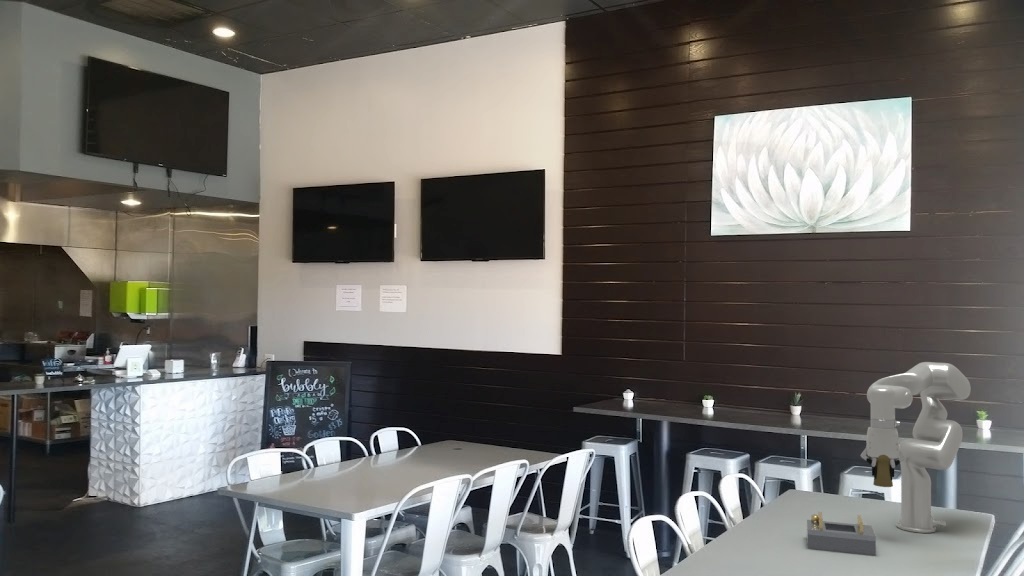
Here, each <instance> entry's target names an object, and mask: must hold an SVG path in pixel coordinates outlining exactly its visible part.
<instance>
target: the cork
mask: <svg viewBox="0 0 1024 576" xmlns="http://www.w3.org/2000/svg"><path fill="white" fill-rule="evenodd" d="M890 460H891V459H890V458H889V457H888V456H886V455H880V456H879V457H877V458H876V467H877V476H876V479H875V477H874V476H873V484H872V485H873V486H876V487H881V488H892V487H893V486H894V484H893V479H892V480H891V477H890Z"/></svg>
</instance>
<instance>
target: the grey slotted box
mask: <svg viewBox="0 0 1024 576" xmlns="http://www.w3.org/2000/svg"><path fill="white" fill-rule="evenodd" d="M817 513H818V514H811V516H810V519H806V542H807V549H808V550H819V551H827V552H836V553H837V552H838V553H847V554H857V555H865V556H875V557H876V555H877V553H876V549H877V545H876V544H877V541H876V540H877V539H876V538H877V536H876V533H875V531H874V528H873V526H872V525H868V524H867V525H866V524H864V521H863V519H862V516H861V515H860V514H857V516H856V524H855V523H847V522H846V523H845V522H834V521H826V520H825V521H824V520H823V519H824V518H823V514H822V511H817Z"/></svg>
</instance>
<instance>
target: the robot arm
mask: <svg viewBox="0 0 1024 576" xmlns="http://www.w3.org/2000/svg"><path fill="white" fill-rule="evenodd" d="M971 391H972V389H971V383H970V381H969V379H968V378H967V377H966V376H965V375H964V374H963V372H962V371H961V370H960V369H958V368H957V367H956V366H955V365H953V364H952V363H947V362H933V361H924V362H923V361H922V362H919V363H918V364H916V365H914V366H913V367H912V368H910V369H908V370H907V371H905V372H903V373H898V374H895V375H890V376H886V377H883V378H879V379H877V380H876V381H874V382H873V383H872V384H871V385H870V386H869V387H868V389H867V392H866V399H867V401H868V402H869V403H870V426H868V428H867V431H866V440H865V441H866V442H865V444H866V445H865V448H864V450H863V451H862V452H861V454H860V457H861V459H863V460H864V461H867V463H868V464H869V465H870V466H871V476H872V477H873V478H874V477H875V479H876V476H877V467H876V458H877V457H879V456H880V455H886V456H888V457H889V458H890V459H891V460H890V477H891V480H892V481H893V478H895V469H896V467H897V466H898V465H899V464H900V477H901V479H900V480H901V481H900V483H901V484H900V485H901V486H900V487H901V489H900V490H901V491H900V492H901V493H900V494H901V495H900V497H901V498H900V499H901V503H900V506H901V511H900V512H901V513H900V519H901V520H900V521H897V522H896V524H895V526H896V527H897V528H898V529H900V530H903V531H907V532H911V533H912V532H914V533H920V534H921V533H922V534H924V533H925V534H932V533H935V532H936V531H937V527H945V528H946V527H947V522H946V520H942V519H936V518H933V517H932V480H931V476H930V474H929V473H928V471H927V469H933V470H939V471H946V470H948V469H949V468H950V467H951V466H952V464H953V462H954V460H955V458H956V455H957V453H958V451H959V449H960V447H961V445H962V441H963V429H962V426H961V425H960V423H958V422H957V421H956V420H952V419H951V420H950V419H947V418H948V411H947V409H946V407H945V406H944V405H943V403H942V402H941V401H940V400H939V399H942V400H944V399H946V400H956V401H963V400H966V399H968V398H969V397H970V395H971ZM917 395H920V401H921V404H922V405H921V406H922V407H921V410H920V413H919V415H918V417H917V419H916V421H915V424H914V426H913V429H912V437H913V438H905V439H903V440H901V441H900V438H899V432H898V428H896V427H898V426H899V427H900V423H901V421H898V420H896V409H906V408H908V407H910V406H911V404H912V402H913V401H914V399H913V398H914V397H913V396H917Z"/></svg>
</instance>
